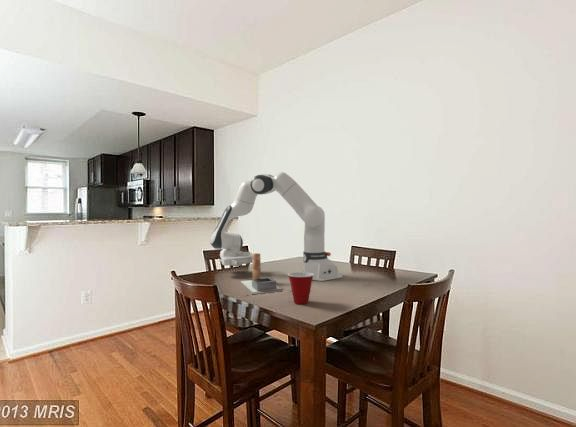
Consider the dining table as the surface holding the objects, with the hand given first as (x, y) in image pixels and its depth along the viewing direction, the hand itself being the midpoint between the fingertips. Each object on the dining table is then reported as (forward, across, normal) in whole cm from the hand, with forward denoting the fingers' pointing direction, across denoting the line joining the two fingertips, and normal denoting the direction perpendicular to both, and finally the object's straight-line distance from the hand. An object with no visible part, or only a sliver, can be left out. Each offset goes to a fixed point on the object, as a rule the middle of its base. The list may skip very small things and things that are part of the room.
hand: (245, 262), depth 173 cm
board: (+18, -1, +10) cm, 21 cm away
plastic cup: (+48, +2, +10) cm, 49 cm away
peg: (+12, 0, +8) cm, 15 cm away
